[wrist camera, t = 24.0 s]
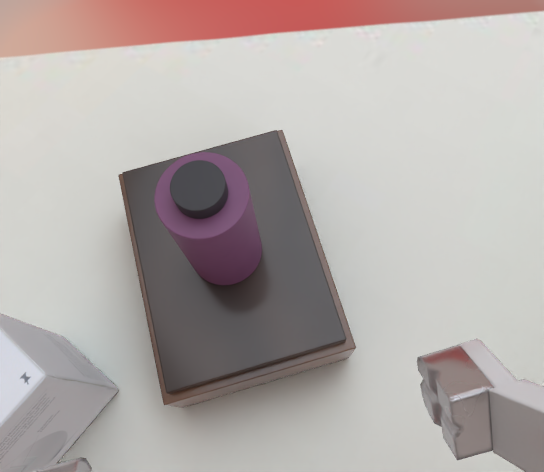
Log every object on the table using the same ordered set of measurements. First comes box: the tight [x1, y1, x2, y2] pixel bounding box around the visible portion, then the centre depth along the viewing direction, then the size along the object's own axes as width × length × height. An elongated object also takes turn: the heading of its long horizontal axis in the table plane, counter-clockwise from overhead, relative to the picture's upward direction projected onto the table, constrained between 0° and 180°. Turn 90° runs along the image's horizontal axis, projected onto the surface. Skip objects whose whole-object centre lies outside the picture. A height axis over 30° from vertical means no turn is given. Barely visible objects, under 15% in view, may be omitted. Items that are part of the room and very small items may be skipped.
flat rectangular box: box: [119, 130, 356, 407], centre depth 35 cm, size 12×16×6 cm
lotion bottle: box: [154, 152, 262, 285], centre depth 28 cm, size 5×5×10 cm
